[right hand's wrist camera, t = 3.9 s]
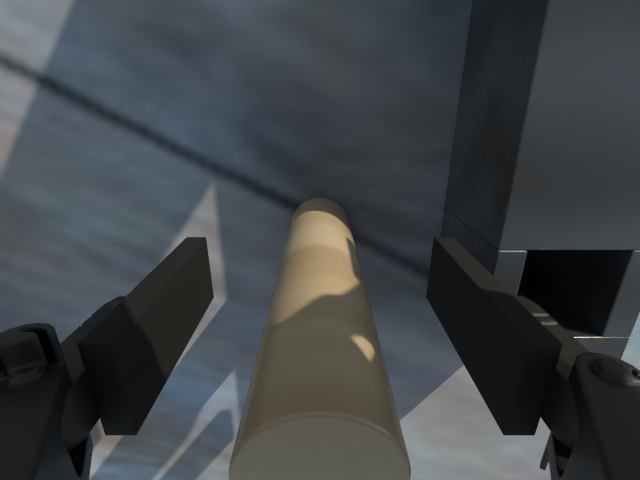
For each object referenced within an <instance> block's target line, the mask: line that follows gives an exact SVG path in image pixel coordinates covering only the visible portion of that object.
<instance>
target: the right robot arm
mask: <svg viewBox="0 0 640 480" xmlns="http://www.w3.org/2000/svg"><path fill="white" fill-rule="evenodd" d="M213 298H214V296H213V288H212V280H211V273H210V265H209V257H208V250H207V242H206V237H187V238H186V239H185V240H184V241H183V242H182V243H181V244H180V245H179V246H177V247H176V248H175V249H174V250H173V251H172V252H171V253H170V254H169V255H168V256H167V257H166V258H165V259H164V260H163V261H162V262H161V263H160V264H159V265H158V266H157V267H156V268H155V269H154V270H153V271H152V272H151V273H150V274H149V275H148V276H147V277H146V278H145V279H144V280H143V281H142V282H140V283H139V284H138V285H137V286H136V287H135V288H134V289H133V290H132V291H131V292H130V293H129V294H128V295H127V296H126V297H117V298H115V299H113V300H112V301H110V302H108V303H106V304H104V305H103V306H102V307H100V308H99V309H98V310H97V311H96V312H95V313H94V314H93V315H92V317H91V318H88V319H87V320H86V321H85V322H84V323H83V324H82V326H80V327H78V328H77V329H76V330H75V331H74V332H73V333H72V334H71V335H70V336H69V337H67V338H66V339H65V340H64V341H63V342H62V343H61V344H60V343H59V340H58V337H57V334H56V331H55V328H54V327H53V326H51V325H49V324H44V323H35V324H27V325H22V326H19V327H15V328H12V329H9V330H6V331H4V332H2V333H0V480H89V474H90V466H91V458H92V450H93V444H92V439H91V436H90V431H91V430H92V428H93V427H94V425H95V424H96V423H97V421H98V420H99V418H100V419H101V422H102V426H103V429H104V432H105V435H137V433H138V431H139V429H140V428H141V426H142V424H143V422H144V420H145V419H146V417H147V415H148V413H149V412H150V410H151V408H152V406H153V404H154V403H155V401H156V399H157V397H158V395H159V394H160V392H161V390H162V388H163V387H164V385H165V383H166V381H167V379H168V378H169V376H170V374H171V372H172V371H173V369H174V367H175V365H176V363H177V362H178V360H179V358H180V356H181V355H182V353H183V351H184V349H185V347H186V346H187V344H188V342H189V340H190V338H191V337H192V335H193V333H194V331H195V330H196V328H197V326H198V324H199V322H200V321H201V319H202V317H203V315H204V314H205V312H206V310H207V308H208V306H209V305H210V303H211V301H212V299H213ZM426 298H427V299H428V301H429V303H430V305H431V306H432V308H433V310H434V312H435V314H436V315H437V317H438V319H439V321H440V322H441V324H442V326H443V328H444V330H445V331H446V333H447V335H448V337H449V338H450V340H451V342H452V344H453V346H454V347H455V349H456V351H457V353H458V355H459V356H460V358H461V360H462V362H463V363H464V365H465V367H466V369H467V371H468V372H469V374H470V376H471V378H472V379H473V381H474V383H475V385H476V387H477V388H478V390H479V392H480V394H481V395H482V397H483V399H484V401H485V403H486V404H487V406H488V408H489V410H490V412H491V413H492V415H493V417H494V419H495V420H496V422H497V424H498V426H499V428H500V429H501V431H502V433H503V435H535V432H536V429H537V426H538V422H539V419H540V417H541V418H542V419H543V421H544V422H545V424H546V425H547V426H548V428H549V429H550V431H551V433H550V436H549V439H548V442H547V444H546V447H545V450H544V453H543V456H542V459H541V464H540V469H543V470H545V469H546V466H547V463H548V462H549V465H550V473H551V480H640V371H639V370H638V369H636V368H635V367H634V366H632V365H630V364H628V363H626V362H624V361H622V360H620V359H618V358H615V357H612V356H609V355H606V354H601V353H594V352H590V351H589V350H588V349H587V348H586V347H584V346H583V345H582V344H581V343H580V342H579V341H578V340H577V339H576V338H574V337H573V336H572V335H571V334H570V333H569V332H568V331H567V330H566V329H564V328H563V327H562V326H561V325H558V322H557V321H556V320H555V319H553V318H552V317H551V316H549V314H548V313H547V312H546V311H545V310H543V309H542V308H541V307H540V306H539V305H538V304H536V303H534V302H533V301H531V300H529V299H527V298H525V297H523V296H522V295H512V294H511V293H510V292H509V291H508V290H507V289H506V288H505V287H504V286H503V285H502V284H501V283H500V282H498V281H497V280H496V279H495V278H494V277H493V276H492V275H491V274H490V273H489V272H488V271H487V270H486V269H485V268H484V267H483V266H482V265H481V264H480V263H479V262H478V261H477V260H476V259H475V258H474V257H473V256H472V255H471V254H470V253H469V252H468V251H467V250H466V249H465V248H464V247H463V246H461V245H460V244H459V243H458V242H457V241H456V240H455V239H454V238H453V237H434V242H433V249H432V257H431V265H430V273H429V280H428V288H427V296H426Z"/></svg>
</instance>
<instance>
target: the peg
mask: <svg viewBox="0 0 640 480" xmlns="http://www.w3.org/2000/svg"><path fill="white" fill-rule="evenodd" d="M410 475H411V468H410V461H409V457H408V453H407V449H406V445H405V441H404V438H403V434H402V430H401V426H400V422H399V418H398V414H397V410H396V406H395V402H394V398H393V394H392V390H391V386H390V382H389V378H388V374H387V370H386V366H385V362H384V359H383V355H382V351H381V347H380V343H379V339H378V335H377V331H376V327H375V323H374V319H373V315H372V311H371V307H370V303H369V299H368V295H367V291H366V287H365V283H364V280H363V276H362V272H361V268H360V264H359V260H358V256H357V252H356V248H355V244H354V240H353V236H352V232H351V228H350V224H349V220H348V217H347V214H346V212H345V211H344V209H343V208H342V207H341V206H340V205H339V204H338V203H337V202H335V201H333V200H331V199H328V198H312V199H309V200H307V201H305V202H304V203H302V204H301V205H300V206H299V207H298V208H297V209H296V211H295V212H294V214H293V217H292V220H291V224H290V228H289V232H288V236H287V240H286V244H285V248H284V252H283V256H282V260H281V264H280V268H279V272H278V276H277V279H276V283H275V287H274V291H273V295H272V299H271V303H270V307H269V311H268V315H267V319H266V323H265V327H264V331H263V335H262V339H261V343H260V346H259V350H258V354H257V358H256V362H255V366H254V370H253V374H252V378H251V382H250V386H249V390H248V394H247V398H246V402H245V406H244V410H243V413H242V417H241V421H240V425H239V429H238V433H237V437H236V441H235V445H234V449H233V453H232V457H231V461H230V467H229V478H230V480H410Z"/></svg>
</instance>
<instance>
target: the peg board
mask: <svg viewBox="0 0 640 480" xmlns="http://www.w3.org/2000/svg"><path fill="white" fill-rule="evenodd" d="M445 208H446V209H445V212H444V219H443V226H442V233H441V237H453V238H454V239H455V240H456V241H457V242H458V243H459V244H460V245H461V246H463V247H464V248H465V249H466V250H467V251H468V252H469V253H470V254H471V255H472V256H473V257H474V258H475V259H476V260H477V261H478V262H479V263H480V264H481V265H482V266H483V267H484V268H485V269H486V270H487V271H488V272H489V273H490V274H491V275H492V276H493V277H494V278H495V279H496V280H497V281H498V282H500V283H501V284H502V285H503V286H504V287H505V288H506V289H507V290H508V291H509V292H510V293H511V294H512V295H522V296H523V297H525V298H527V299H529V300H531V301H533V302H534V303H536V304H538V305H539V306H540V307H541V308H542V309H543V310H545V311H546V312H547V313H548V314H549V316H551V317H552V318H553V319H555V320H556V321H557V322H558V325H561V326H562V327H563V328H564V329H566V330H567V331H568V332H569V333H570V334H571V335H572V336H573V337H574V338H576V339H577V340H578V341H579V342H580V343H581V344H582V345H583V346H584V347H586V348H587V349H588V350H589V351H590V352H594V353H601V354H606V355H609V356H612V357H615V358H618V359H620V360H621V358H622V355H623V353H624V350H625V348H626V345H627V342H628V340H629V336H630V335H631V332H632V330H633V327H634V325H635V322H636V320H637V317H638V315H639V312H640V0H473V6H472V13H471V20H470V28H469V35H468V42H467V50H466V57H465V64H464V72H463V79H462V86H461V93H460V101H459V108H458V115H457V123H456V130H455V137H454V145H453V152H452V159H451V166H450V174H449V181H448V188H447V196H446V203H445ZM527 250H530V251H529V255H528V260H527V264H526V268H525V272H524V273H525V274H522V273H523V268H524V264H525V260H526V256H527Z"/></svg>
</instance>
